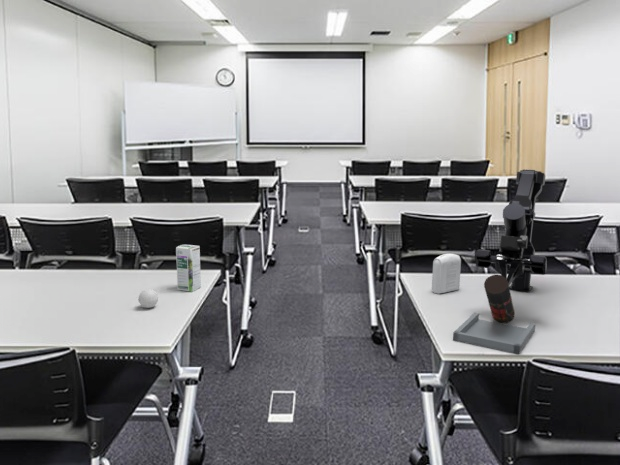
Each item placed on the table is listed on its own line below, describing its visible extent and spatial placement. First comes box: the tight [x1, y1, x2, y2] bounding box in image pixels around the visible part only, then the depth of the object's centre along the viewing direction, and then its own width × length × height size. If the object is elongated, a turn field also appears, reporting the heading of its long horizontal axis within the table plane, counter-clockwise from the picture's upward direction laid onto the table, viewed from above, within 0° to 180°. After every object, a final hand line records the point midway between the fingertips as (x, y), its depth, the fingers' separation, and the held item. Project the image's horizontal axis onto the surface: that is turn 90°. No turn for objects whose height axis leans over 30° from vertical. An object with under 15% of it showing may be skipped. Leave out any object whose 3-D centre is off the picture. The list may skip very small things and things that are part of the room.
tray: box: [452, 312, 536, 355], centre depth 142 cm, size 18×16×2 cm
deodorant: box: [483, 274, 515, 324], centre depth 147 cm, size 6×6×15 cm
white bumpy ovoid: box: [137, 288, 159, 309], centre depth 163 cm, size 8×6×6 cm
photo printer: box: [431, 253, 462, 294], centre depth 179 cm, size 10×4×12 cm, turn 123°
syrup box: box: [175, 244, 202, 292], centre depth 181 cm, size 6×6×14 cm
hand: (505, 287), depth 150 cm, fingers closed
